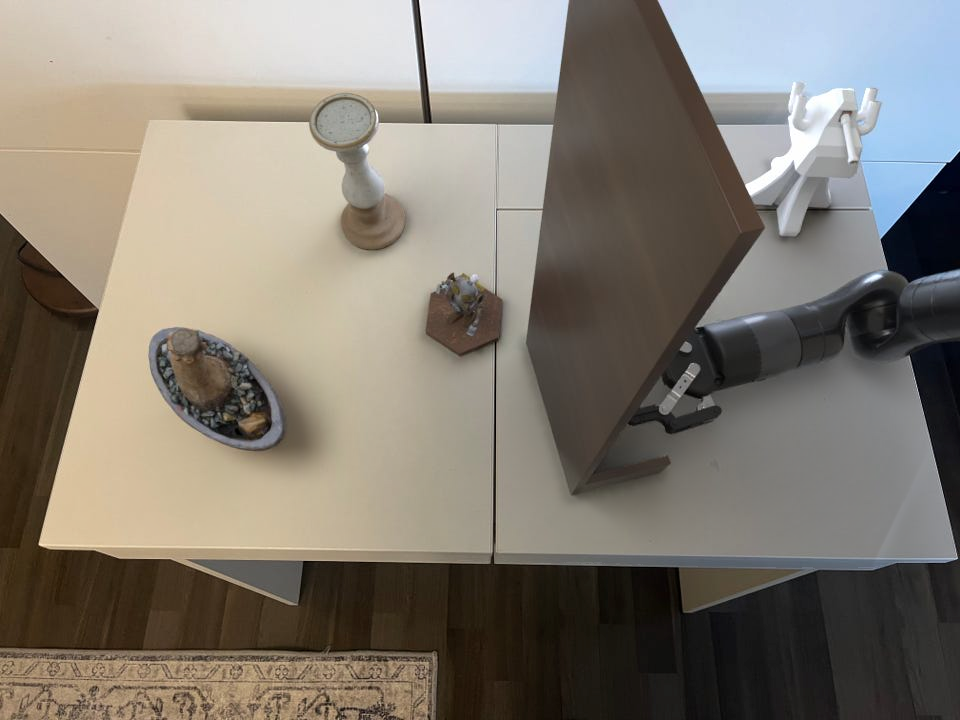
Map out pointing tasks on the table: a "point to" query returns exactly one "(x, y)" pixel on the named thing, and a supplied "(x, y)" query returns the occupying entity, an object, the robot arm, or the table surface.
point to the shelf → (626, 229)
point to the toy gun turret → (815, 153)
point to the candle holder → (358, 170)
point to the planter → (216, 389)
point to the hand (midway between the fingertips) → (610, 382)
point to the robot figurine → (463, 315)
